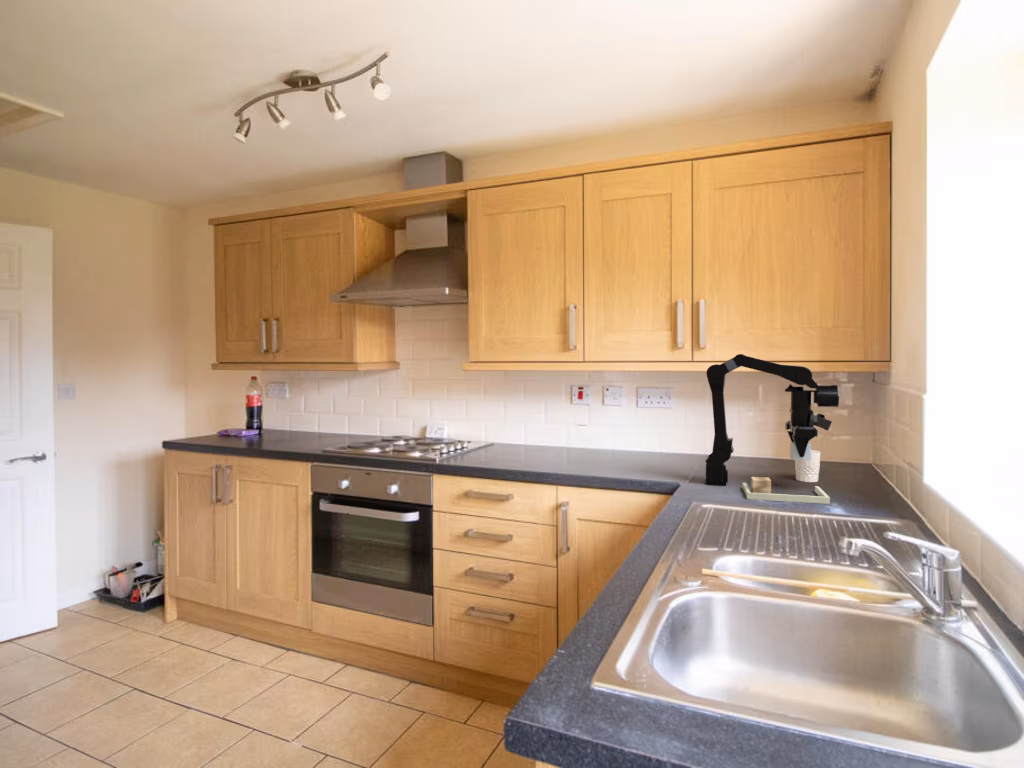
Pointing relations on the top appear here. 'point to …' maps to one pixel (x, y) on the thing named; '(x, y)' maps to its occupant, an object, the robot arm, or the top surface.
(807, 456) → the blue block
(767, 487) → the beech block
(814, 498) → the tray
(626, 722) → the top surface
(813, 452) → the white cup
